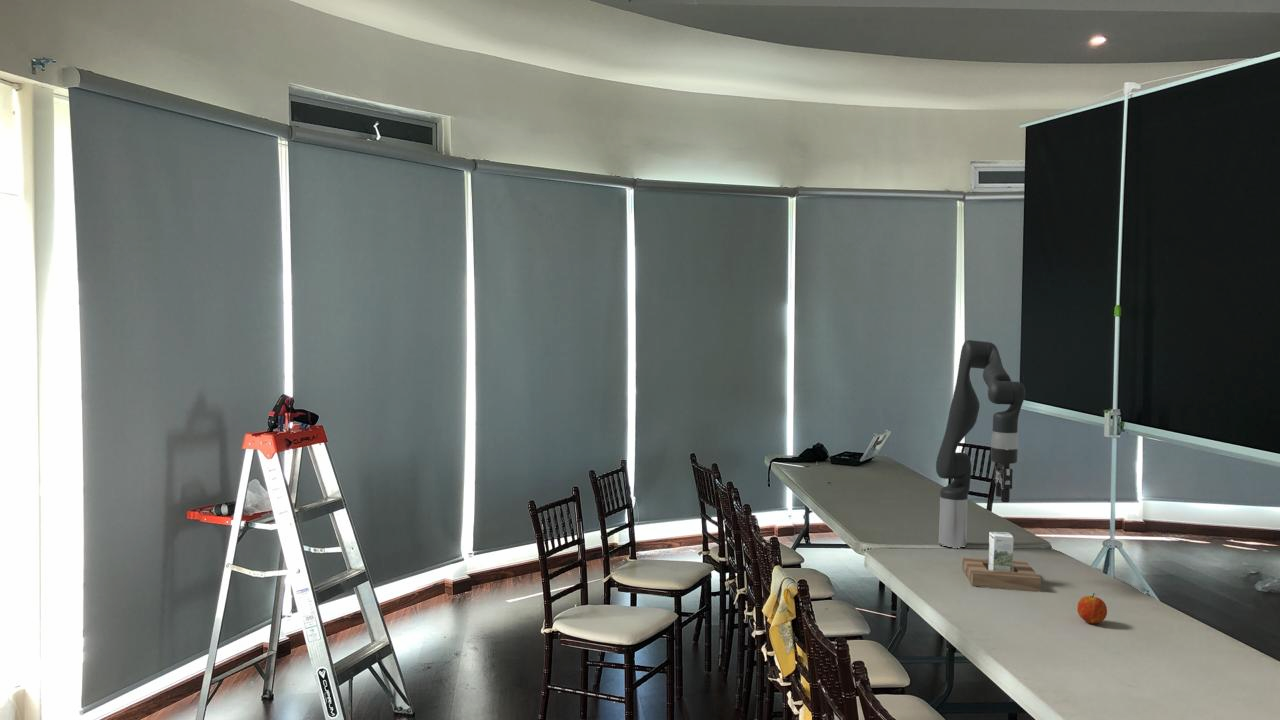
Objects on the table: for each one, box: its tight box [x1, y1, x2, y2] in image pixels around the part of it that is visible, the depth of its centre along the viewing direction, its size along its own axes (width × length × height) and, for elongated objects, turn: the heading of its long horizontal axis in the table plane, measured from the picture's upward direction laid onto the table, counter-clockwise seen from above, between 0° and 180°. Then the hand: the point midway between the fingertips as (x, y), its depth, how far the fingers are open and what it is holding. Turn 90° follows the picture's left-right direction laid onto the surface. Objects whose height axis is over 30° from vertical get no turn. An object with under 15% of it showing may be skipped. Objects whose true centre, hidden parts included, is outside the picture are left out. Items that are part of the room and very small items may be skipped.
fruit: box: [1076, 592, 1108, 625], centre depth 230 cm, size 7×7×8 cm
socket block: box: [961, 557, 1042, 592], centre depth 269 cm, size 19×19×4 cm
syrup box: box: [987, 531, 1015, 572], centre depth 268 cm, size 6×6×14 cm
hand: (1002, 499), depth 268 cm, fingers open, 8 cm apart
